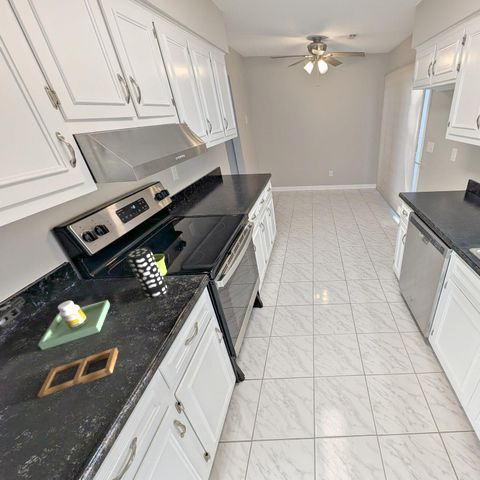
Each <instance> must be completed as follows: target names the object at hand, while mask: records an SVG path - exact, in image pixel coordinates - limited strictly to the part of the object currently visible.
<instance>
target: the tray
mask: <svg viewBox="0 0 480 480" xmlns="http://www.w3.org/2000/svg"><path fill="white" fill-rule="evenodd" d="M110 306H111V303H110V301H109V300H108V299H105V300H102V301H98V302H95V303H91V304H88V305H84V306H81V307H80V309H81V310H82V312H83V313H84V315H85V316H86V317H87V319H88V321H87V323H86V324H85V325H83V326H82V327H80V328H77V329H70V328H69V327H68V326H67V324H66V323H65V322H64V320H63V319H62V318H61V316H60V315H59V313H57V314H56V316H55V318H53V321H52V322H51V324H50V325H49V326H48V328H47V330H46V331H45V333H44V334H43V336H42V337H41V339H40V341H39V343H38V344H37V346H38V347H39V348H40V349H41V350H42V351H44V350H47V349H51V348H54V347H56V346H59V345H63V344H66V343H70V342H72V341H76V340H78V339H82V338H84V337H87V336H91V335H94V334H98V333H100V332H101V330H102V327H103V325H104V322H105V319H106V318H107V317H106V316H107V314H108V312H109V309H110Z"/></svg>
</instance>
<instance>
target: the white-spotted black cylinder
mask: <svg viewBox="0 0 480 480" xmlns="http://www.w3.org/2000/svg"><path fill="white" fill-rule="evenodd" d="M153 255H154V254H153V252H152V249H151V248H150V247H147V246H144V247H139V248H135V249H133V250H131V251H129V252H127V253H126V254H125V258H126V260H127V262H128V264H129V266H130V268H131V270H132V272H133V275H134V277H135V278H136V280H137V282H138V284H139V287H140V288H141V291H142V292H143V294H144V296H145V298H146V299H148V300H152V299H156V298H160V297H162V296H164V295H165V294H166V293H167V291H168V290H169V289H168V286H167V283H166V281H165V279H164V276H162V275H161V272H160V270H159V268H158V266H157V263H156V261H155V259H154V256H153Z"/></svg>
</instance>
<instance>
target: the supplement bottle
mask: <svg viewBox="0 0 480 480" xmlns="http://www.w3.org/2000/svg"><path fill="white" fill-rule="evenodd" d="M80 308H81V307H80V305H78V304H75V303H74V301H72V300H66V301H63V302H62V303H60V304H59V305H58V306H57V309H58V311H59V313H58V314H59V315H60V316H61V318H62V319H63V320H64V322H65V323H66V324H67V326H68V327H69V328H70V329H77V328H80V327H82V326H83V325H85V324H86V323H87V321H88V319H87V317H86V316H85V315H84V313H83V312H82V310H81V309H80Z"/></svg>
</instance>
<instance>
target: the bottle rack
mask: <svg viewBox="0 0 480 480" xmlns="http://www.w3.org/2000/svg"><path fill="white" fill-rule="evenodd" d="M118 353H119V350H118V348H117V347H112V348H109V349H107V350H103V351H101V352H97V353H95V354H92V355H88V356H87V357H86V356H85V357H83V358H80V359H78V360H74V361H72V362H68V363H65V364H62V365H60V366H57V367H54V368H51V369H50V371H49V372H48V375H47V377H46V379H44V382H43V384H42V386H41V388H40V390H39V392H38V393H37V397H38V398H39V399H40V398H43V397H46V396H48V395H51V394H53V393H57V392H58V391H61V390H64V389H67V388H70V387H72V386H75V385H78V384H80V383H81V386H83V385H86V384H89V383H91V382H93V381H96V380H99V379H101V378H104V377H107V376H110V375H113V372H114V368H115V365H116V361H117V359H118ZM105 359H107V362H106V363H105V364H106V365H105V367H104V368H102V369H99V370H96V371H93V372H90V373H88V374H85V375H83V374H84V371H85V369H86V367H87V365H88V363H89V364H90V365H92V364H93V363H96V362H100V361H102V360H105ZM77 366H78V368H77V370H76V373H75V375H74V377H73V379H70V380H68V381H65V382H63V383H60V384H57V385H55V386H51V384H52V382H53V381H54V379H55V376H56V374H57V373H59V372H62V371H66V370H68V369H71V368H74V367H77ZM50 386H51V387H50Z"/></svg>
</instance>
